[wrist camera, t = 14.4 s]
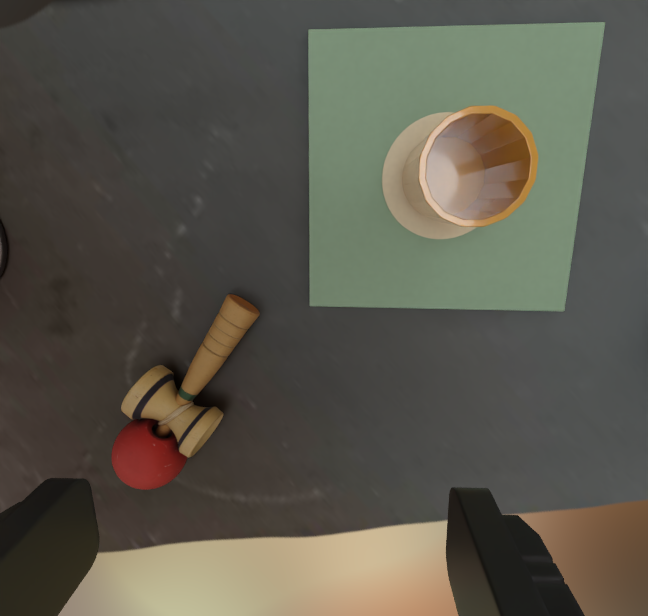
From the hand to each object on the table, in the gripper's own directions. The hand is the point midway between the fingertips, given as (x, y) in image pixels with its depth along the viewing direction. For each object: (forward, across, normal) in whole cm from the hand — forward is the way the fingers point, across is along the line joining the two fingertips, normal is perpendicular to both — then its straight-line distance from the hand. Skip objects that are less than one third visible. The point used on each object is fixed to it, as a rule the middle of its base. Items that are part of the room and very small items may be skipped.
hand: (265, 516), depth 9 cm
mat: (+26, -9, -8) cm, 29 cm away
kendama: (+26, +12, +8) cm, 30 cm away
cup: (+26, -9, -8) cm, 28 cm away
